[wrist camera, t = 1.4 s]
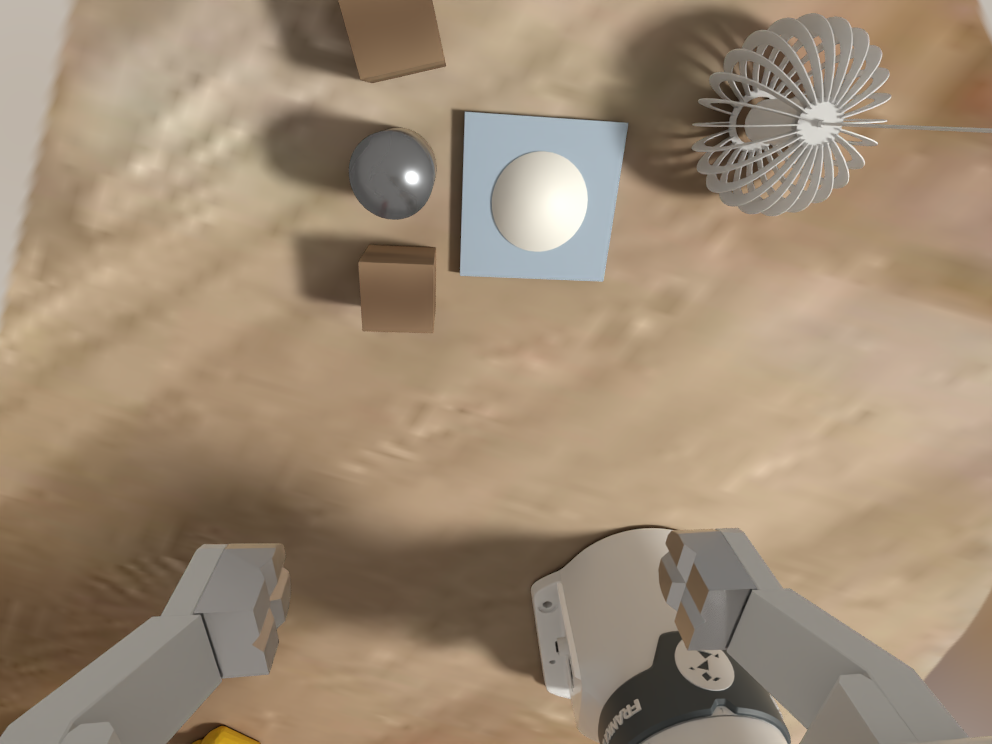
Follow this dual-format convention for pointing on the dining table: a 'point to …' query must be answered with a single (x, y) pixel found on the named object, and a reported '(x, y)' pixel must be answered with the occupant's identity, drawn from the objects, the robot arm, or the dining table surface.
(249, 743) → the toy
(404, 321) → the walnut cube
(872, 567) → the dining table surface
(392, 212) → the metal cylinder
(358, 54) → the walnut cube
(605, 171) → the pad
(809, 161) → the pendant light
